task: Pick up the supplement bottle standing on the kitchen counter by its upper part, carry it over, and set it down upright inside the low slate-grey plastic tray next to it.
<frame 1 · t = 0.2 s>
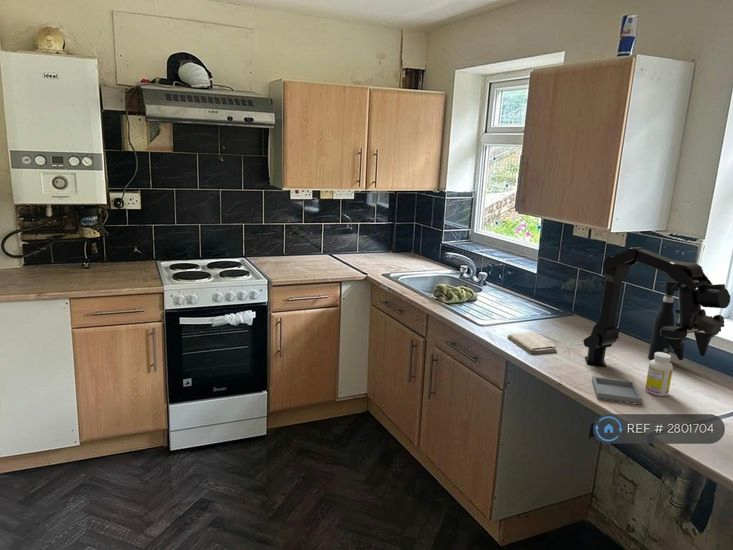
hand: (691, 357, 164), 15 cm above the countertop, tool pointing down, fingers open, 9 cm apart
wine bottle: (657, 360, 201), on the countertop
tray: (615, 392, 173), on the countertop
washcloth: (531, 346, 212), on the countertop
supplement bottle: (656, 392, 175), on the countertop
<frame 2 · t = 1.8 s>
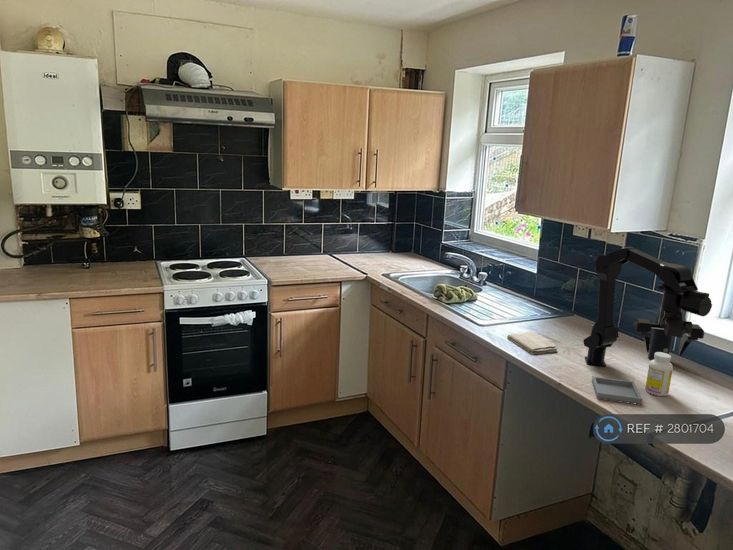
hand: (663, 353, 172), 13 cm above the countertop, tool pointing down, fingers open, 9 cm apart
nothing on the countertop moved.
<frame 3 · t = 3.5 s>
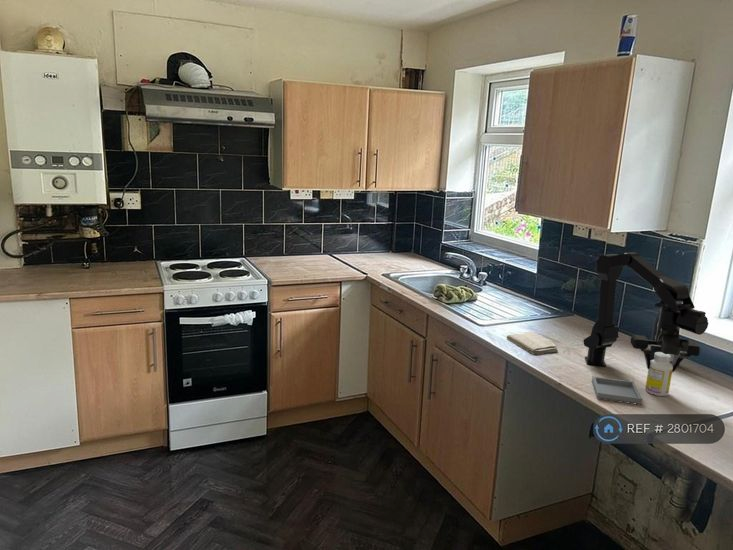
hand: (660, 370, 173), 8 cm above the countertop, tool pointing down, fingers closed on supplement bottle, 7 cm apart
supplement bottle: (656, 392, 175), on the countertop, touching gripper
everything else where it was.
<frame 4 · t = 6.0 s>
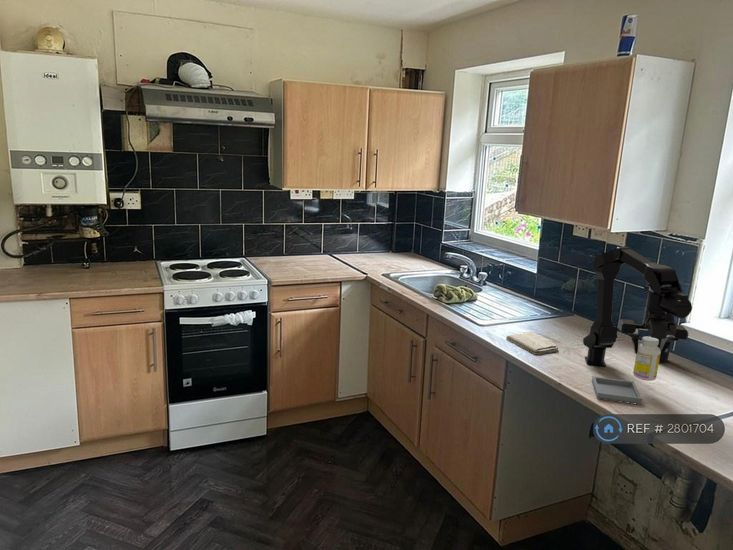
hand: (647, 354, 171), 13 cm above the countertop, tool pointing down, fingers closed on supplement bottle, 7 cm apart
supplement bottle: (644, 377, 173), point 5 cm above the countertop, touching gripper
everything else where it was.
when the fingers open (9 cm above the countertop, at t = 8.6 s): supplement bottle stays where it is, resting on tray.
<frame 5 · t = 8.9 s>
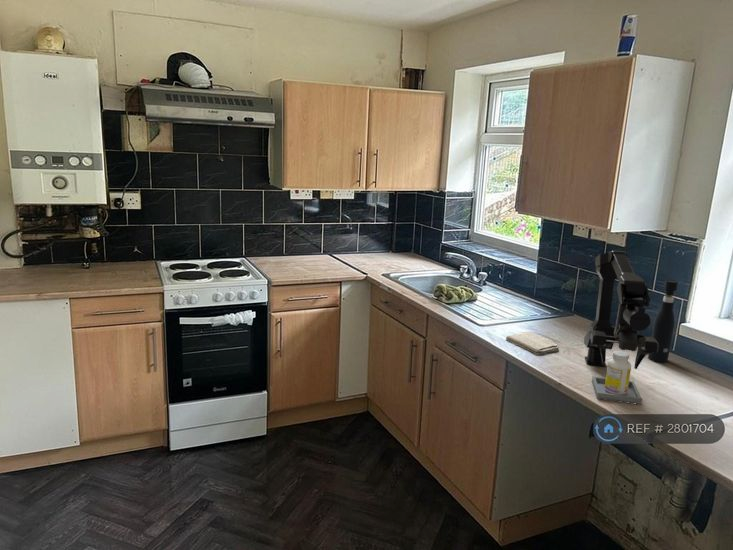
hand: (619, 366, 171), 9 cm above the countertop, tool pointing down, fingers open, 9 cm apart
supplement bottle: (615, 391, 173), resting on tray
everything else where it was.
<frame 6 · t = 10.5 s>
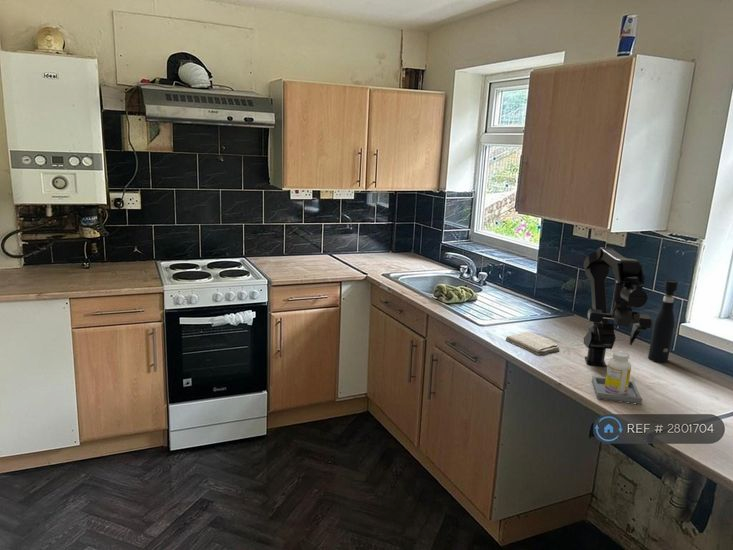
hand: (615, 342, 180), 13 cm above the countertop, tool pointing down, fingers open, 9 cm apart
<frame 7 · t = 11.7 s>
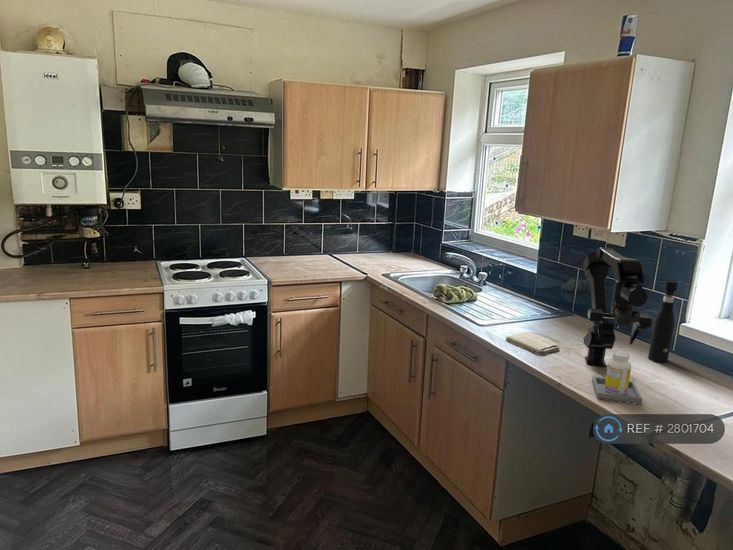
hand: (615, 342, 180), 13 cm above the countertop, tool pointing down, fingers open, 9 cm apart
at the end: supplement bottle 0.0 cm off-centre on the tray, point 0.3 cm above the tray's base; supplement bottle tilted 0°; the gripper is holding nothing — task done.
